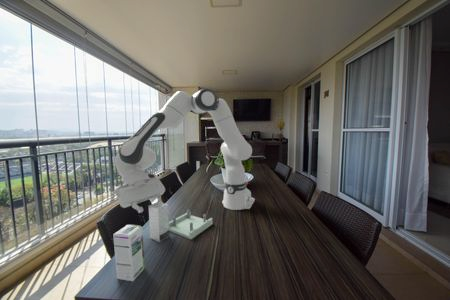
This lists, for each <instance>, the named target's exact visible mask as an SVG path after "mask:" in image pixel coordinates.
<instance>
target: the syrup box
mask: <svg viewBox="0 0 450 300" xmlns="http://www.w3.org/2000/svg"><path fill="white" fill-rule="evenodd" d="M113 245H114V246H113V247H114V259H115V260H114V261H115V269H116V271H115V272H116V278H117V280H122V281H128V282H134V281H135V280H136V278H137V277H138V276H139V275H140V274H141V273H143V271H144V269H145V268H146V263H145V262H146V261H145V249H144V235H143V226H141V225H138V224H126V225H125V226H124V227H122V228H120V229H119V230H118V231H116V232H115V233H113Z"/></svg>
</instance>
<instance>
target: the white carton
mask: <svg viewBox="0 0 450 300" xmlns="http://www.w3.org/2000/svg"><path fill="white" fill-rule="evenodd" d="M169 213H170V212H169V204H168V203H164V202H162V203H161V202H157V201H156V202H155V203H152V204H149V205H148V221H149V223H148V224H149V237H150V240H154V241H155V242H158V243H161V242H163V241H165V240H166V239H168V238H169V237H170V231H169V222H170V220H169V218H170V217H169Z"/></svg>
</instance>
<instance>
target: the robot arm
mask: <svg viewBox="0 0 450 300" xmlns="http://www.w3.org/2000/svg"><path fill="white" fill-rule="evenodd" d="M189 112H190V113H193V114H195V115H200V114H205V113H208V114H209V115H210V117H211V118H212V121H213V124H214V126H215V128H216V130H217V133H218V135H219V137H220V138H221V139H222V140H223V142H222V143H221V146H220V153H221V154H222V156H223V162H224V167H225V183H224V185H225V188H224V190H223V200H222V201H221V203H222V205H223V207H224V208H226V209H227V210H231V211H240V210H241V211H242V210H250V209H251V208H252V206H253V204H254V203H255V200H256V199H255V198H254V197H252V192H251V190H250V189H248V188H247V185H248V183H249V182H248V181H247V180H246V179H245V178H246V176H245V175H246V172H245V167H244V165H243V162H242V161H246V160H248V159H250V158H251V156H252V154H253V148H252V145H251V144H250V143H249V142H248V141H247V140H246V139H245V138H244V136H243V134H242V133H241V132H240V130H239V128H238V126H237V123H236V122H235V118H234V116H233V113H232V111H231V108H230V106H229V105H228V103H227V101H226V100H225V99H224V98H221V97H218V96H217V94H215V92H214V91H213V90H212V89H209V88H202V89H199V90H198V91H196V92H194V93H193V94H189V93H187V92H185V91H182V90H179V91H176V92H175V93H174V94H173V95H172V96H171V97H170V98H169V99H168V100H167V101H166V103H165V104H164V106H163V107H162V108H161V109H160V110H159V111H157V112H155V113H153V114H151V116H149V117H148V119H146V121H144V123H143V124H142V125H141V126H140V127H138V129H137V130H136V132H135V133H134V134H132V135H131V136H130V137H129V138H127V140H125V141H123V143H122V144H121V145H120V147H119V150H118V153H117V154H116V155H115V157H114V166H115V169H116V171H117V172H118V174H119V176H120V177H121V178H122V181H123V183H124V185H120V186H116V188H115V189H114V191H113V192H114V194H115V196H116V197H117V200H118V203H119V205H120V207H121V208H123V209H125V208H129V207H131V208H133V209H134V210H136V211H137V212H138V214H140V213H143V212H144V208H143V206H139V205H138V204H140V203H142V202H145V201H148V200H151V199H154V198H155V199H157V201H156V203H157V202H161V203H163V201H162V196H163V194H164V193H165V192H166V188H165V186H164V184H163V183H162V181H161V180H160V179H158V176H157V175H156V174H155V173H146V172H144V171H146V170H148V169H149V168H152V167H153V166H155V164H156V162H157V158H158V156H157V152H156V151H155V150H154V149H152V148H150V147H149V146H147V143H148V142H149V141H150V140H151V138H153V136H154V135H155V134H156V132H158V131H159V130H162V129H169V130H173V129H176V128H178V127H179V126H180V125H181V124H182V123H183V121H184V120H185V119H186V116H187V115H188V114H189Z"/></svg>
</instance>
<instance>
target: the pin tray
mask: <svg viewBox="0 0 450 300" xmlns="http://www.w3.org/2000/svg"><path fill="white" fill-rule="evenodd" d="M202 217H203V218H202ZM202 217H199V216H195V215H193V214H191V209H187V210H186V213H184V214H182V215H180V216H178V217H176V216H173V217H172V220H171V221H170V220H169V232H171V233H174V234H175V235H176V234H177V235H179V236H182V237H184V238H186V239H189V240H193V239H194V238H195V237H197V236H199V234H200V233H202V232H204V231H206V229H208V228H209V227H211V226H212V225H213V223H214V222H213V217H210V218H208V219H207V215H206V214H205V213H204V214H203V215H202Z"/></svg>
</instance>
